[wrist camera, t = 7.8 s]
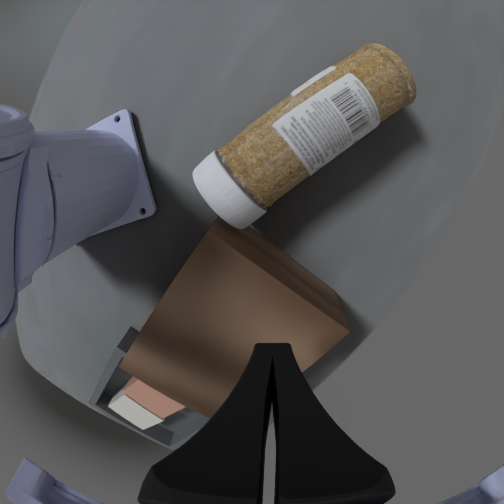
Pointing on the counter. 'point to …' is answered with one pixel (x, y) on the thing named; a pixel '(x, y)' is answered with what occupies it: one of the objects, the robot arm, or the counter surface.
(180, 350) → the walnut board
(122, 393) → the cream tile
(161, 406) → the terracotta tile
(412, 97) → the sprinkles bottle
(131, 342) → the box
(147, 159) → the counter surface
